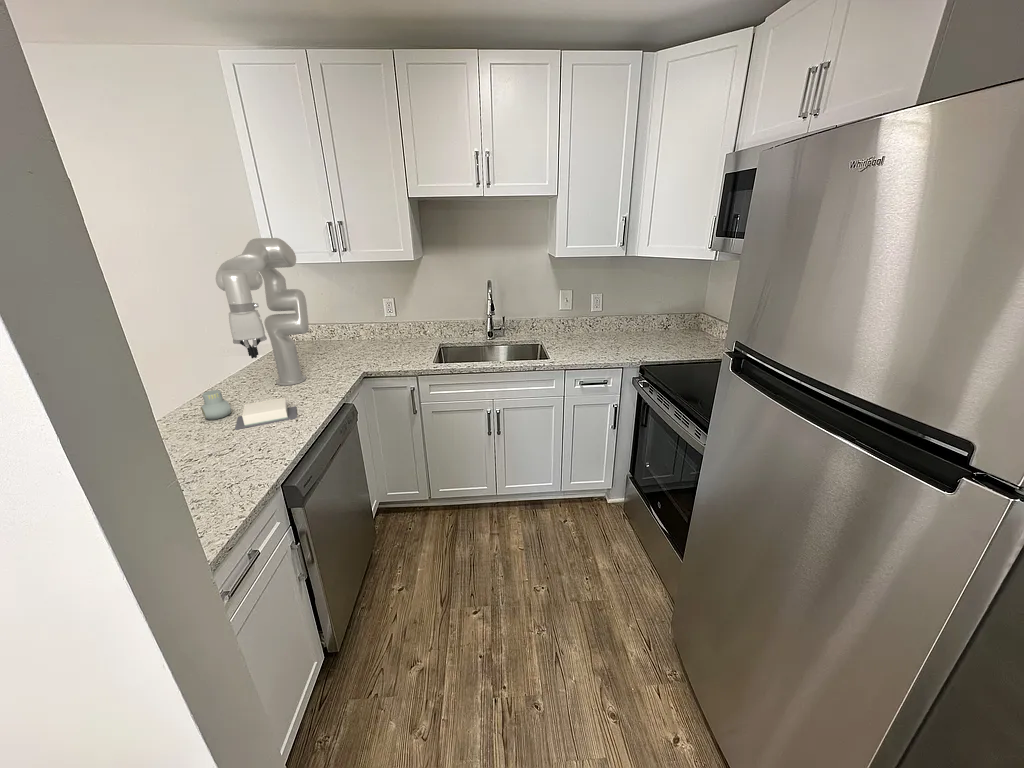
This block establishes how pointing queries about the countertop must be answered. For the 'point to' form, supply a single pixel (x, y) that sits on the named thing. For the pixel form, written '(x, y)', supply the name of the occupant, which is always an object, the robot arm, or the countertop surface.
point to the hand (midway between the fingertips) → (254, 357)
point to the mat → (291, 415)
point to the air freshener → (215, 405)
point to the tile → (265, 411)
